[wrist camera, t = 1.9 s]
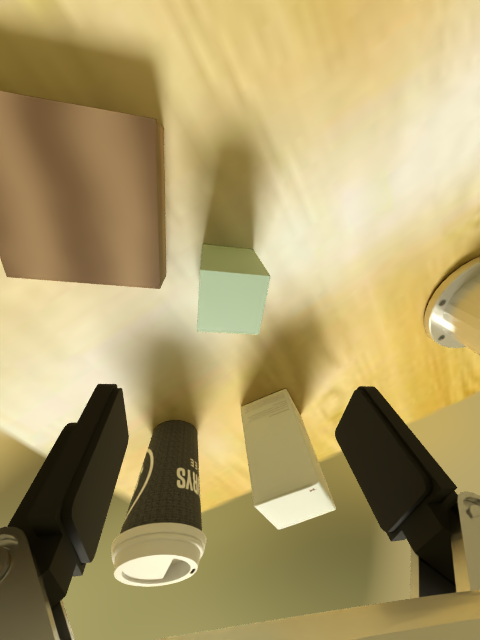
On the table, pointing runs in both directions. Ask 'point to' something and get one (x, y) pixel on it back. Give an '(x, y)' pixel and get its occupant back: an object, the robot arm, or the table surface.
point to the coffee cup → (163, 513)
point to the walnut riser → (81, 194)
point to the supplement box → (283, 462)
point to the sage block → (231, 290)
